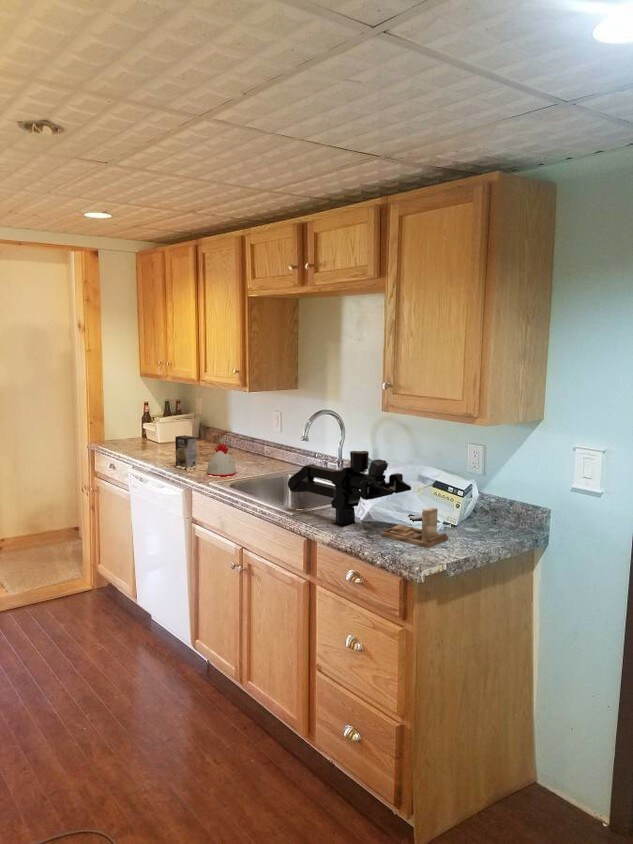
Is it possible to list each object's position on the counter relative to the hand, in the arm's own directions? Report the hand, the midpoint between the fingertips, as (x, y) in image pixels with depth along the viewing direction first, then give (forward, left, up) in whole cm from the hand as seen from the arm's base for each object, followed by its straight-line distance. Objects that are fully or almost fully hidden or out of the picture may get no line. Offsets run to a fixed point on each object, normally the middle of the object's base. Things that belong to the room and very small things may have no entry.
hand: (401, 490), depth 209 cm
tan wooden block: (+9, +3, -15) cm, 18 cm away
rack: (+4, +2, -16) cm, 17 cm away
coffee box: (-148, +12, -17) cm, 150 cm away
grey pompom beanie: (-123, +16, -17) cm, 126 cm away
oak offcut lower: (-1, +2, -15) cm, 15 cm away
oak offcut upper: (-1, +2, -14) cm, 14 cm away
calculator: (-11, +20, -17) cm, 29 cm away
